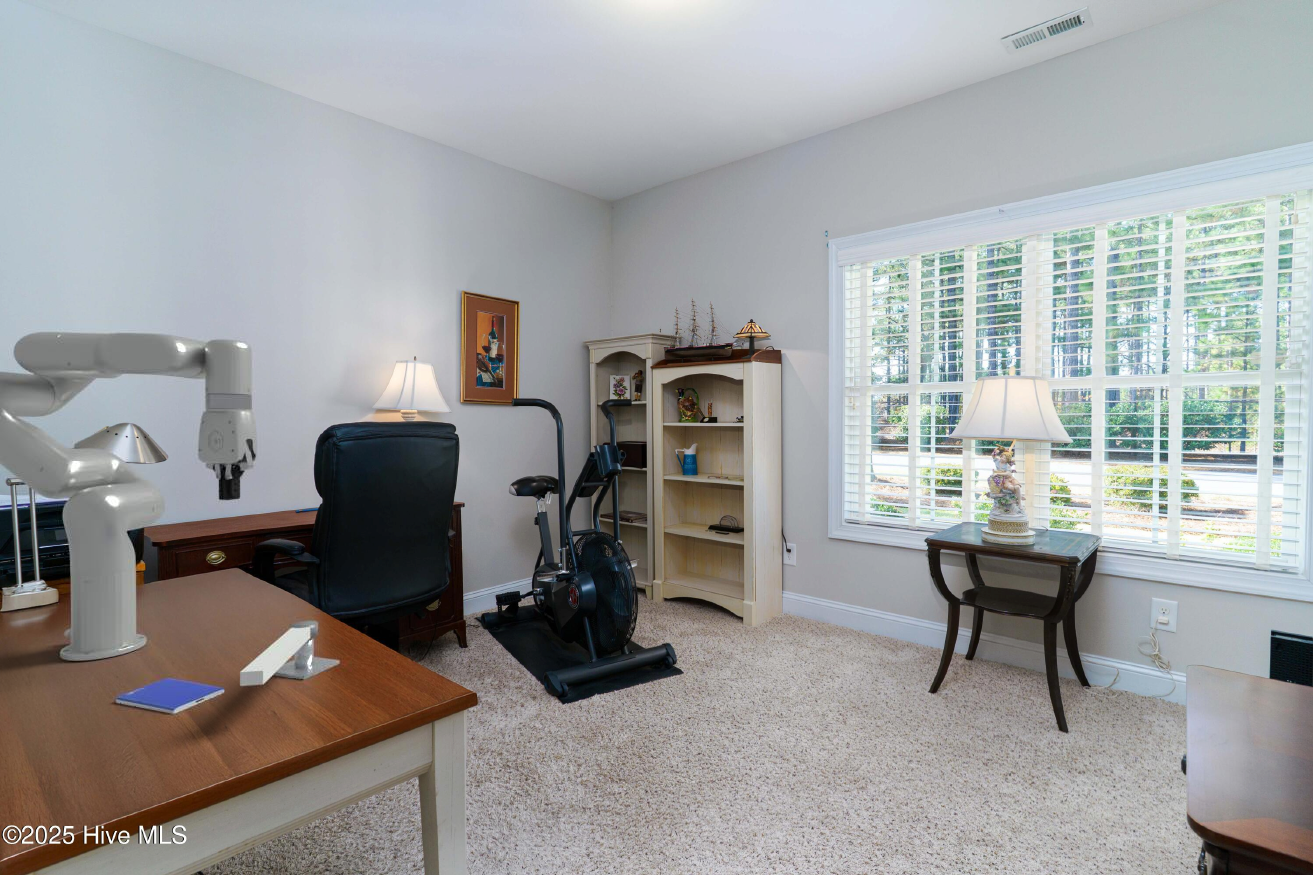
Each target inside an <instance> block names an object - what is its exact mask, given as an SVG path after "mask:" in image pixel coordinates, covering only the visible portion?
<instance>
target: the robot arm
mask: <svg viewBox="0 0 1313 875" xmlns="http://www.w3.org/2000/svg"><path fill="white" fill-rule="evenodd" d="M252 352H253V351H252V346H251V345H250V344H249V343H247V342H246V341H242V340H236V339H225V338H224V339H223V338H222V339H221V338H218V339H211V340H209V341H202V340H196V339H193V338H192V339H191V338H187V337H182V336H176V335H172V334H165V333H164V334H163V333H145V332H144V333H143V332H140V333H139V332H113V333H112V332H111V333H95V332H93V333H92V332H90V333H89V332H68V331H67V332H65V331H62V332H59V331H58V332H57V331H40V332H39V331H38V332H33V333H29V334H26V335H24V336H22V337H21V338H20V339H19V340H18V341H17V342H16V343H15V344H14V346H13V357H14V360H15V361H16V363H17V364H18V365H19V366H20V367H21V368H22V369H24V370H25V371H27V372H29V373H20V372H7V371H0V465H2V467H3V468H4V469H6V470H7V471H9V472H10V473H11V474H12V475H14V476H15V477H16V478H17V479H18V480H20V481H21V482H23V484H25V485H26V486H27V487H29V489H31V490H33V491H34V492H35V493H37V494H38V495H39V496H41V497H44V498H47V499H53V500H61V499H67V501H66V503H65V504H64V506H63V508H62V509H63V510H62V521H63V525H64V530H65V533H66V538H67V542H68V549H69V550H68V551H69V561H70V562H69V564H70V565H69V566H70V567H69V568H70V569H69V570H70V572H69V573H70V620H71V621H70V623H71V624H70V628H69V629H66V630H65V631H64V633H63V635H64V637H66V638H69V639H70V640H69V641H70V644H68V645H66V646H64V647H63V648H62V649H61V650H60V651H59V652H60V653H59V657H60V658H61V659H62V660H65V661H72V662H73V661H74V662H81V661H94V660H101V659H107V658H111V657H116V656H121V655H124V654H127V653H131V652H134V651H136V650H138V649H140V648H142V647H144V646H145V645H146V644H147V636H145V635H144V634H141V633H137V571H136V570H137V566H136V552H135V549H134V548H135V547H134V546H133V542H132V540H131V539H130V537H129V534H128V531H133V530H138V529H142V528H143V529H144V528H145V527H148V526H151V525H153V524H154V523H156V522H157V521H159V519H161V518H162V516H163V515H164V512H165V509H166V501H165V498H164V495H163V494H162V492H161V490H160V489H159V488H158V487H157V486H156V485H155V484H154V483H152V482H151V481H150V480H149V479H148V478H146V477H145V476H144V475H142V474H141V473H140V472H138V471H137V470H136V469H135V468H134V467H132V466H131V465H130V464H129V463H127V462H126V461H124V460H123V458H121V457H119V456H118V455H116V454H114V453H113V452H110V451H108V450H104V449H100V448H72V447H67V446H64V445H63V444H61V443H60V442H58V441H57V440H55V439H54V438H52V437H51V436H50V435H49V434H48V433H47V432H46V431H44V430H43V429H41V428H39V427H38V426H36V425H34V424H32V423H30V422H27V421H26V420H23V419H22V418H24V417H25V418H30V417H34V418H36V417H37V418H39V417H45V416H49V415H52V414H54V413H56V412H58V411H59V410H61V409H62V408H63V407H64V406H66V405H67V404H68V403H69V402H71V401H72V400H73V399H74V398H76V396H78V395H79V394H80V393H82V391H84V390H85V389H86V388H87V387H88V386H90V385H91V384H92V383H94V381H95V380H96V379H116V378H119V377H121V376H122V375H123V374H124V375H125V374H127V375H149V376H150V375H152V376H153V375H154V376H164V377H165V376H167V377H176V378H178V377H179V378H183V379H191V380H193V379H194V380H201V379H203V380H204V385H205V386H204V390H205V392H204V394H205V396H204V398H205V400H204V401H205V404H204V405H205V411H203V412H202V415H201V418H200V422H199V424H200V425H199V431H198V445H197V455H198V460H199V461H200V462H201V463H205V468H207V469H209V470H211V471H213V472H214V473H215V478H216V479H217V480H218V499H219V501H232V500H239V499H241V479H243V476H244V473H245V471H248V470H252V469H254V466H255V465H254V462H255V461H256V460H257V457H258V436H257V428H256V427H257V426H256V420H255V414H254V411H253V387H252V385H253V383H252V382H253V370H252V368H253V365H252V362H253V361H252V360H253V359H252V358H253V357H252V355H253V353H252ZM31 373H32V374H31ZM21 417H22V418H21Z"/></svg>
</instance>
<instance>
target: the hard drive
mask: <svg viewBox="0 0 1313 875" xmlns="http://www.w3.org/2000/svg"><path fill="white" fill-rule="evenodd" d="M222 693H223V694H225V688H224V687H220V686H213V685H209V684H203V683H199V682H193V681H187V680H182V679H175V678H170V677H167V678H164V679H160V680H157V681H155V682H152V683H149V684H147V685H143V686H142V687H138V688H135V689H133V690H130V691H128V692H125V693H122V694H119V695H118V696H117V697H116V701H115V703H116V704H120V703H121V704H120V705H127V706H131V707H135V706H136V707H135V708H141V709H147V710H151V711H152V710H153V711H157V712H162V713H167V714H172V715H173V714H176V713H177V714H178V712H181V711H184V710H186V709H189V708H191V707H193V706H195V705H199V704H201V703H202V702H205V700H206V701H207V700H210V698H211V699H213V698H215V697H218V696H220V695H222ZM217 695H218V696H217ZM198 703H199V704H198Z"/></svg>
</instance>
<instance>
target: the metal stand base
mask: <svg viewBox="0 0 1313 875" xmlns="http://www.w3.org/2000/svg"><path fill="white" fill-rule="evenodd" d="M314 637H315V636H314ZM314 637H312V638H310V639H309V640H308V641H307V642H306V643H305V644H304V645H303V646H302V647H301V648H300V649H298V650H297V651H296V652H295V653H294V654H293V656H294V659H293V660H290V661H288V662H285V663H284V664H283V665H282V666H281V667H280V668H279V669H278V670H277V671H276V672H275V673H274V674H273V675H272V676H274V675H275V677H281V678H289V679H294V678H296V680H301V679H303V680H302V681H305V680H307V679H309V678H311V677H313V676H316V675H317V674H320V673H322V672H324V671H326V670H328V669H331V668H333V667H335V666H337V665H339V664H340V659H334V658H326V657H319V656H314V655H315V654H314V652H315V651H314V650H315V649H314V648H315V647H314V646H315V645H314V642H315V641H314Z"/></svg>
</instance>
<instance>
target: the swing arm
mask: <svg viewBox="0 0 1313 875" xmlns="http://www.w3.org/2000/svg"><path fill="white" fill-rule="evenodd" d="M318 635H319V622H318V621H317V620H302V621H296V622H294V623H291V624H290V625H289V629H288V630H287V631H286V632H285V633H284V634H282V635H281V636H280V637H279V638H278V639H277V640H276V641H274V642H273V643H272V644H271V645H270V646H268V648H266V649H264V651H263V652H261V653H260V654H259V655H258V656H257V657H256V658H255V659H253V660H252V661H251V662H250V663H249V664H248V665H247V666H245V667H244V668H243V669H241V671H240V672H239V686H240V687H246V686H258V685H264V684H265V683H266V682H267V681H268V680H269V679H270V678H271V677H272V676H274V675H273V674H274V673H275V672H276V671H277V670H278V669H279V668H280V667H281V666H282V665H283V664H285V663H287V661H289V659H291V658H292V656H294V653H295V652H296V651H297V650H298V649H300V648H301V647H302V646H303V645H304V644H305V643H306V642H307V641H308V640H309V639H310V638H312V637H316V636H318Z"/></svg>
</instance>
